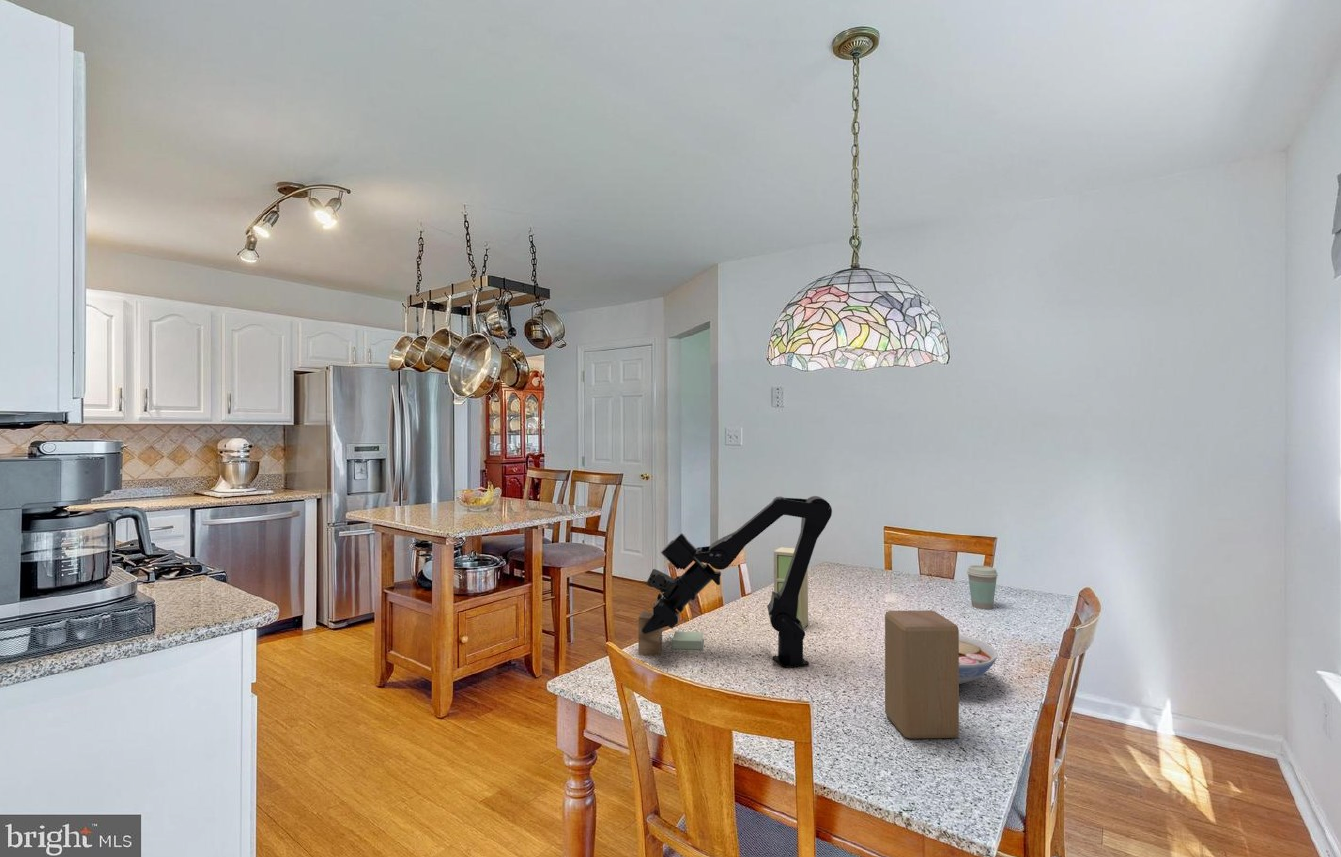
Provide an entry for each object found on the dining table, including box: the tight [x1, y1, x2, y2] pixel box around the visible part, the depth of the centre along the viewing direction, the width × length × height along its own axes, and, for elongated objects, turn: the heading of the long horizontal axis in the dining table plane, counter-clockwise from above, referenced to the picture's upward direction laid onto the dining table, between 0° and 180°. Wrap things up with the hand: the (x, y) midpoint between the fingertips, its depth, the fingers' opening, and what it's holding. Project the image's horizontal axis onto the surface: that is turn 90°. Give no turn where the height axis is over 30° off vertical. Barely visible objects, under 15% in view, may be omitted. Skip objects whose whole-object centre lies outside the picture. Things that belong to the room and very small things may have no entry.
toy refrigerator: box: [773, 546, 809, 630], centre depth 171 cm, size 8×7×21 cm
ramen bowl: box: [883, 633, 998, 685], centre depth 134 cm, size 25×23×8 cm
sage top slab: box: [672, 630, 704, 651], centre depth 152 cm, size 7×7×2 cm
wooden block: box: [884, 609, 960, 739], centre depth 112 cm, size 10×10×20 cm
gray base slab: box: [669, 638, 705, 651], centre depth 152 cm, size 8×8×2 cm
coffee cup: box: [966, 564, 999, 610], centre depth 191 cm, size 8×9×12 cm
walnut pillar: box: [637, 610, 663, 656], centre depth 147 cm, size 5×5×10 cm
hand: (644, 628), depth 147 cm, fingers closed on walnut pillar, 5 cm apart
